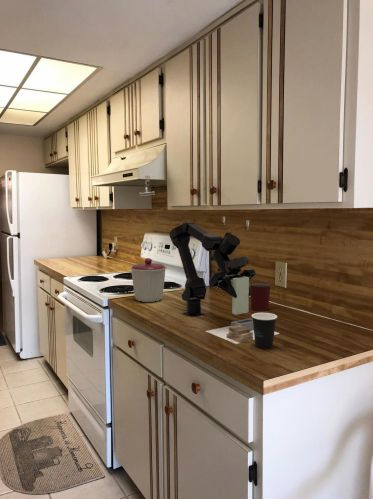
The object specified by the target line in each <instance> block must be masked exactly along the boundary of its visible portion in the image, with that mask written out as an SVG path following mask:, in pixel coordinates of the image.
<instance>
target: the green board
mask: <svg viewBox="0 0 373 499" xmlns="http://www.w3.org/2000/svg"><path fill="white" fill-rule="evenodd" d="M232 286H233V288H234V290H235V292H236V294H237V298H234V297H233V296H231V297H232V306H231V308H232V310H231V312H232V313H231V314H234V315H235V316H237V315H242V314H246V313H249V303H250V302H249V297H250V296H249V287H250V282H249V277H239V278H233V280H232Z"/></svg>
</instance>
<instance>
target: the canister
mask: <svg viewBox="0 0 373 499" xmlns="http://www.w3.org/2000/svg"><path fill="white" fill-rule="evenodd" d="M152 262H153V260H152V258H149V257H146V258H145V259H144V263H143V262H142V263H136V264H134V265H132V266H131V267H130V268H129V269H130V270H131V271H130V272H131V278H132V279H131V280H132V286H133V292H134V293H133V294H134V298H135V299H136V301H138V302H140V301H142V302H141V303H155V301H156V302H159V301H161V300H162V298H163V295H164V290H165V289H164V288H165V279H166V270H167V266H166V265H164V264H162V263H157V262H156V263H154V262H153V263H152Z"/></svg>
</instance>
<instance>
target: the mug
mask: <svg viewBox="0 0 373 499" xmlns="http://www.w3.org/2000/svg"><path fill="white" fill-rule="evenodd" d="M249 287H250V293H251V295H250V296H249V297H250V304H251V310H253V311H256V312H257V311H258V312H260V311H261V312H265V311H268V310H269V307H270V295H271V284H269V283H262V282H254V283H253V282H252V283H249Z"/></svg>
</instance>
